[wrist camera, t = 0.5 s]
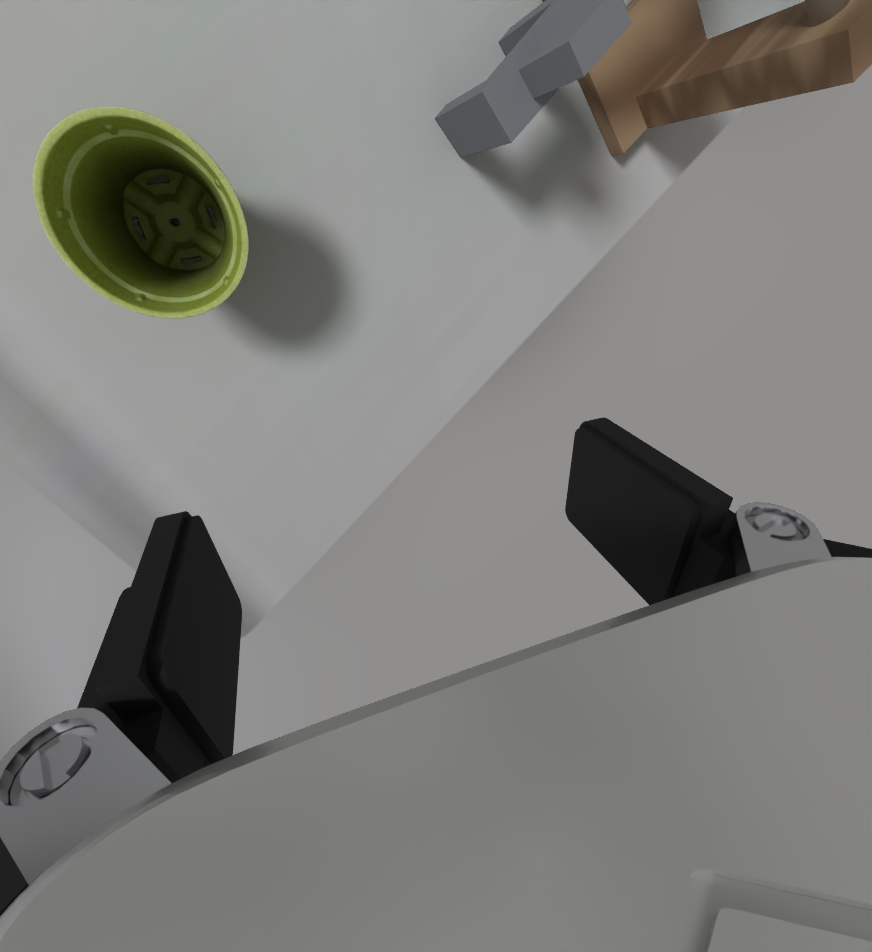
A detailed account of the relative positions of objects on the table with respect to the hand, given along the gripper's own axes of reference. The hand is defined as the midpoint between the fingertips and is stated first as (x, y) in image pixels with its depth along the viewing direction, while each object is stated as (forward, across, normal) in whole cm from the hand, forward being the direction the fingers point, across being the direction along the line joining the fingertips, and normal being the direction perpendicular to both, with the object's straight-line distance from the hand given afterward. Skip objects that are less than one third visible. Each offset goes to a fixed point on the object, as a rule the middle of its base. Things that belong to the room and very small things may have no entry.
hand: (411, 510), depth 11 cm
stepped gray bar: (+30, -15, -12) cm, 35 cm away
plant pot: (+30, +8, -6) cm, 31 cm away
